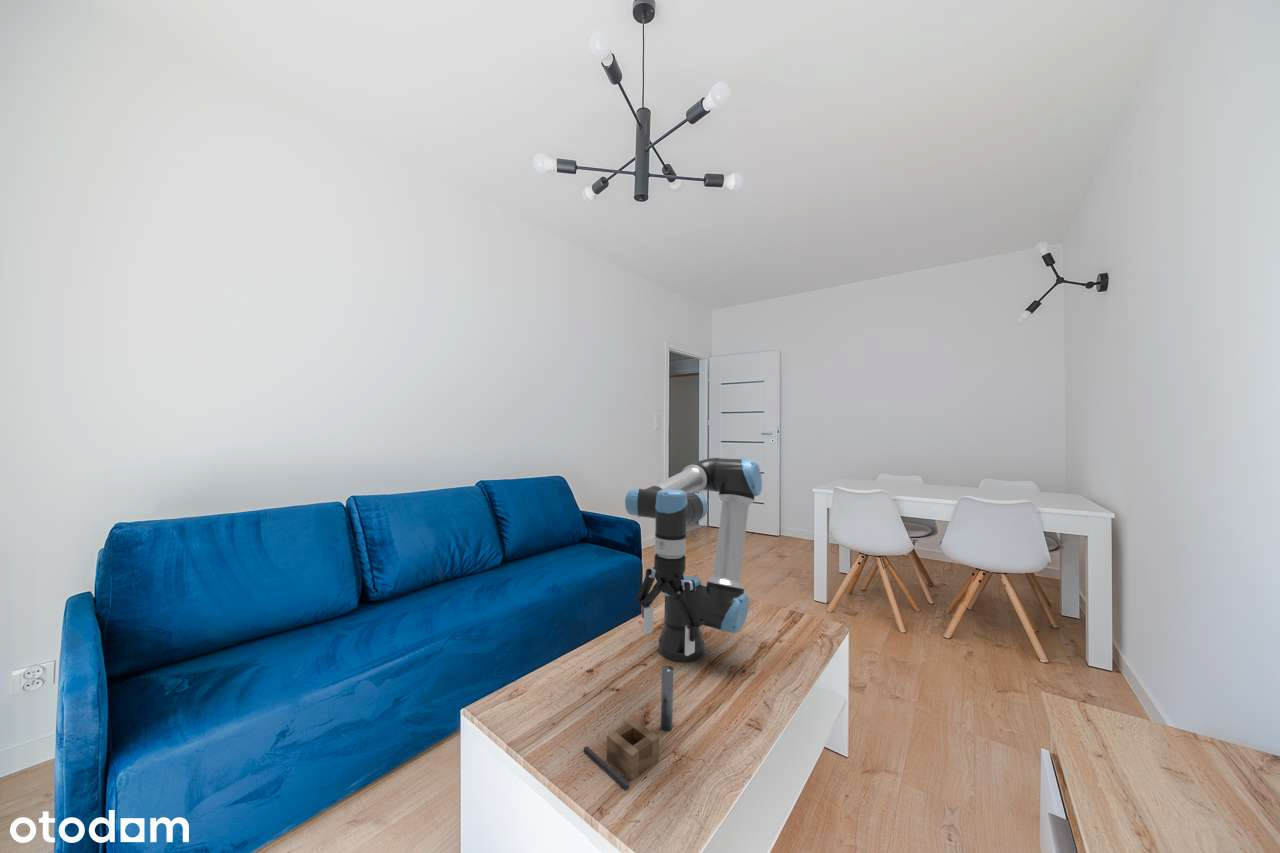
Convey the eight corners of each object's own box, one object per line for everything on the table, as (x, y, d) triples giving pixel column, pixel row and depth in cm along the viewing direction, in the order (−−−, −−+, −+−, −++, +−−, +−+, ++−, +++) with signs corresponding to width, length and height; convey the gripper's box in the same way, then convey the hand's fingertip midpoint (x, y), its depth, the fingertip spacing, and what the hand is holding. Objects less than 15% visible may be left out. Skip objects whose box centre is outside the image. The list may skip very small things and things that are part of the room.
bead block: (606, 758, 94) (607, 735, 94) (633, 740, 99) (634, 718, 99) (631, 780, 88) (632, 755, 88) (658, 760, 94) (659, 737, 94)
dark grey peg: (658, 726, 104) (659, 668, 104) (666, 721, 106) (667, 664, 106) (666, 732, 102) (668, 673, 102) (674, 727, 104) (675, 669, 104)
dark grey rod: (583, 751, 96) (583, 747, 96) (586, 749, 96) (586, 745, 96) (626, 790, 86) (626, 786, 86) (628, 787, 86) (629, 783, 86)
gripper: (624, 546, 111) (622, 629, 111) (701, 570, 93) (698, 669, 93) (645, 541, 116) (643, 621, 116) (721, 563, 98) (719, 657, 98)
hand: (667, 642), depth 104 cm, fingers open, 13 cm apart
